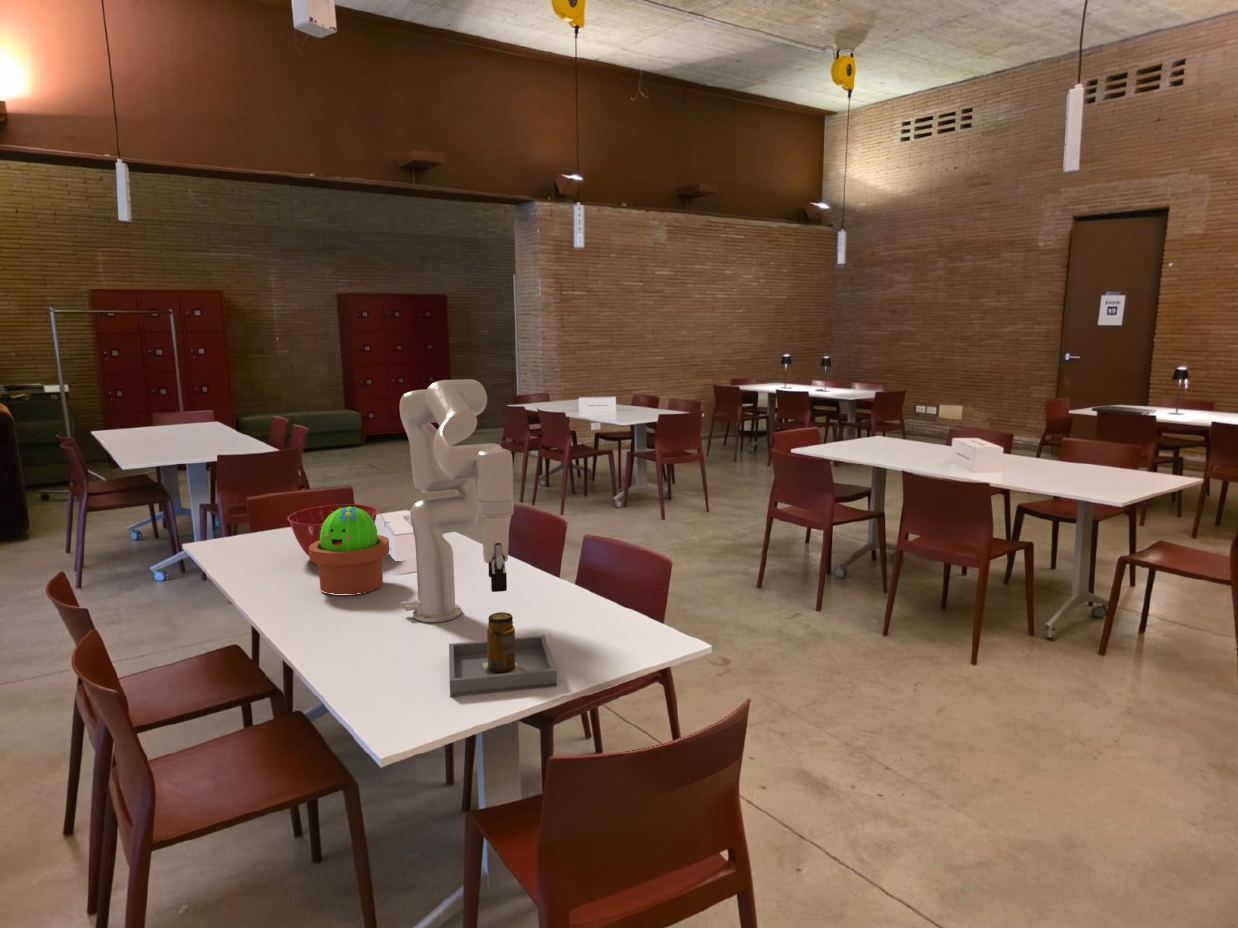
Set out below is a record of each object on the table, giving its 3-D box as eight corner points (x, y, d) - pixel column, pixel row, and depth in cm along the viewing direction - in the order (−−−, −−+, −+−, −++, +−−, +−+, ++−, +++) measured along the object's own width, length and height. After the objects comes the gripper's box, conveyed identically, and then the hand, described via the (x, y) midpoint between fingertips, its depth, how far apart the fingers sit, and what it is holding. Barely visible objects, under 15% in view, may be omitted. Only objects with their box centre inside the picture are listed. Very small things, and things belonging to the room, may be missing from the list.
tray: (450, 696, 158) (449, 680, 157) (449, 658, 177) (449, 643, 176) (556, 685, 162) (556, 670, 162) (544, 649, 182) (544, 635, 181)
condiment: (513, 659, 174) (512, 608, 172) (522, 674, 166) (521, 621, 164) (481, 664, 172) (480, 612, 170) (489, 679, 164) (487, 626, 162)
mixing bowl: (363, 569, 246) (361, 522, 244) (275, 569, 247) (271, 522, 244) (390, 546, 274) (388, 504, 272) (311, 546, 275) (308, 504, 272)
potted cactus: (334, 575, 240) (329, 497, 237) (401, 577, 238) (397, 498, 234) (298, 598, 219) (291, 512, 215) (372, 600, 217) (367, 514, 213)
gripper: (476, 499, 171) (478, 572, 174) (479, 517, 155) (481, 598, 158) (510, 497, 173) (511, 570, 176) (517, 515, 156) (518, 595, 159)
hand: (497, 583), depth 167 cm, fingers open, 9 cm apart
